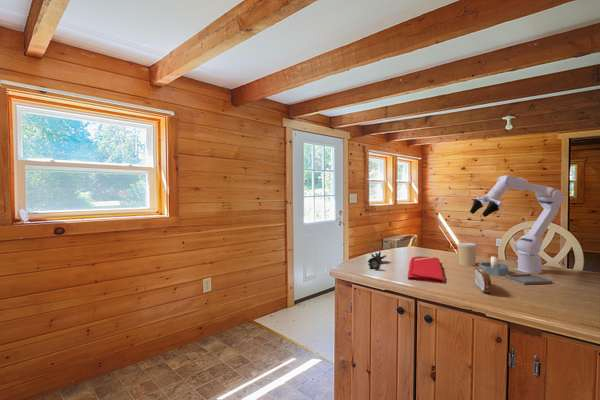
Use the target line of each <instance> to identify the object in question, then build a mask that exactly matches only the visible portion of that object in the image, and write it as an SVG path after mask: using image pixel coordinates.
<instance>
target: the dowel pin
mask: <svg viewBox="0 0 600 400" xmlns="http://www.w3.org/2000/svg"><path fill="white" fill-rule="evenodd" d="M490 262H491V267H493V268H497V263H498V257H497V256H490Z"/></svg>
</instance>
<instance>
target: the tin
mask: <svg viewBox="0 0 600 400" xmlns="http://www.w3.org/2000/svg"><path fill="white" fill-rule="evenodd" d="M490 275H491V274H489V273H488V272H487V271H486V270H485V269H483V268H479V267H475V268H474V282H475V285H476V287H478V289H479V290H480V292H481V293H485V294H491V293H492V285H493V284H492V279H491V276H490Z"/></svg>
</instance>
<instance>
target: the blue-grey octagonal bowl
mask: <svg viewBox="0 0 600 400" xmlns="http://www.w3.org/2000/svg"><path fill="white" fill-rule="evenodd" d="M478 268H483V269H485V270H486V271H487V272H488V273H489V275H491V276H492V275H493V276H498V277H499V276H501V277H502V276H505V275H510V274H509V273H510V265H506V264H503V263H499V262H497V268H493V267H491V261H486V262H485V261H483V262H482V261H481V262H480V263H478Z"/></svg>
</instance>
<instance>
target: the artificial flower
mask: <svg viewBox="0 0 600 400" xmlns="http://www.w3.org/2000/svg"><path fill="white" fill-rule="evenodd" d="M370 255H371V258H369V259H368V261H367V265H368V266H369V267H368V268H369V270H371V269H376V270H375V271H378V270H380V268H381V266H382V265H381V264H383V260H384V259H385V258H386V257H387V255H386V254H384V255H382V252H381V250H380V249H378V253H377V252H375V253H374V254H373V253H372V252H371V253H370ZM381 255H382V256H381Z"/></svg>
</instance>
